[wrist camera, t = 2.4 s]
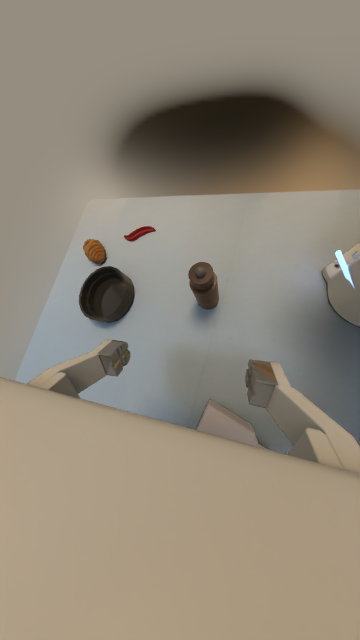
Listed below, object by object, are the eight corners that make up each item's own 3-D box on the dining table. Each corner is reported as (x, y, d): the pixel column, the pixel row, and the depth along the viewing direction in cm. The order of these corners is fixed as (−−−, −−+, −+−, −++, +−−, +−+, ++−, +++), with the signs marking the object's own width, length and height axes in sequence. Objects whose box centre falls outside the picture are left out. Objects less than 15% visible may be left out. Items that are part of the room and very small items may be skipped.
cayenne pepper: (122, 241, 50) (119, 237, 48) (125, 229, 51) (122, 225, 49) (153, 239, 46) (151, 235, 44) (156, 227, 47) (154, 222, 45)
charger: (265, 492, 26) (192, 437, 31) (285, 443, 27) (209, 397, 32) (274, 521, 22) (186, 451, 27) (297, 461, 22) (207, 404, 28)
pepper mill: (207, 285, 38) (198, 249, 24) (223, 297, 36) (222, 265, 23) (193, 300, 38) (177, 273, 25) (209, 313, 36) (200, 290, 23)
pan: (115, 265, 48) (105, 257, 44) (144, 292, 43) (136, 286, 39) (84, 301, 49) (71, 296, 45) (109, 333, 43) (96, 331, 39)
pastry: (111, 255, 50) (102, 248, 46) (98, 269, 50) (88, 263, 47) (100, 241, 53) (91, 233, 50) (87, 254, 54) (77, 247, 50)
